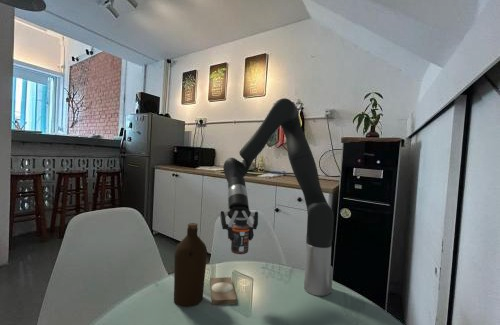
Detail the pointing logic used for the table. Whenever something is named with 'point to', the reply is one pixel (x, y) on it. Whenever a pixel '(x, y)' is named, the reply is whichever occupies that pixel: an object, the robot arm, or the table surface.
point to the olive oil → (189, 269)
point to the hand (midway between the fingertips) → (241, 239)
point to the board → (222, 291)
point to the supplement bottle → (240, 236)
